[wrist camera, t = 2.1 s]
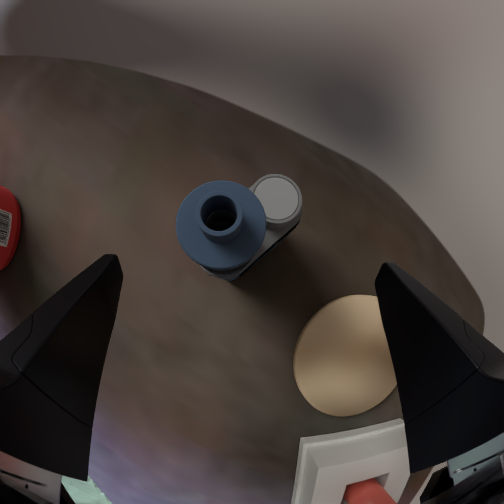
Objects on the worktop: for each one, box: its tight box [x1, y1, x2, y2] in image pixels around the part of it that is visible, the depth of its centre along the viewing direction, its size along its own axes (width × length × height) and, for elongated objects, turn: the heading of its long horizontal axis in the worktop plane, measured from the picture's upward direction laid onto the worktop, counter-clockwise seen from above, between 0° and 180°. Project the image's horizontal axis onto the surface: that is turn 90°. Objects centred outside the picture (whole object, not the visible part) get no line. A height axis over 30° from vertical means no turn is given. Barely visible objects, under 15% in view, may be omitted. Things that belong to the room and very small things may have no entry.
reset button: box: [343, 478, 397, 504], centre depth 11 cm, size 3×3×4 cm
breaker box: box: [291, 418, 410, 504], centre depth 14 cm, size 9×9×4 cm
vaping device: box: [176, 174, 302, 281], centre depth 12 cm, size 3×5×12 cm, turn 131°
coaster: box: [293, 295, 397, 416], centre depth 17 cm, size 9×9×1 cm
